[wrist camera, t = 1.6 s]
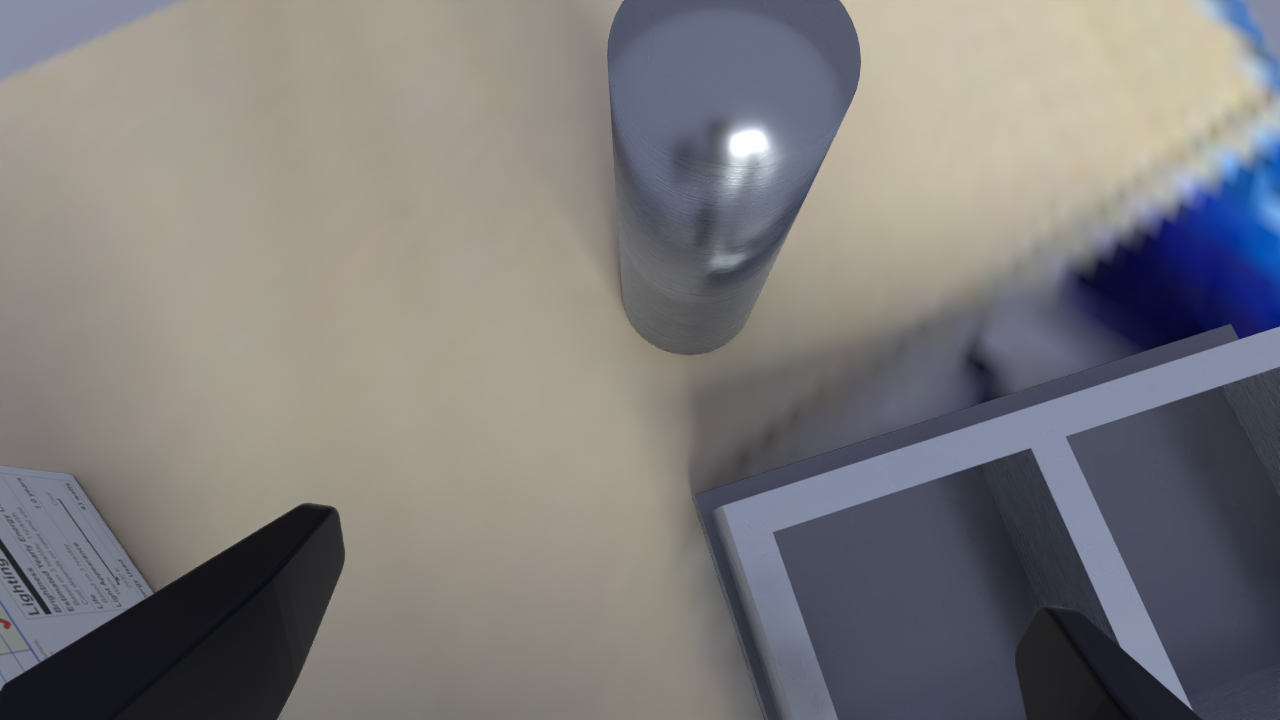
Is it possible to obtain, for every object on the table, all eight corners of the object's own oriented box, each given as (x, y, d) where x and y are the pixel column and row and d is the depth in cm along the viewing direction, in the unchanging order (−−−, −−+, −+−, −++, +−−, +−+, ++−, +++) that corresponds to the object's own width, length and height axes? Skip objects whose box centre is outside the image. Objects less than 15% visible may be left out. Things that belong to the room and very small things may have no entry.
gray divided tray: (818, 885, 20) (863, 967, 16) (691, 496, 22) (704, 486, 18) (1388, 673, 21) (1557, 702, 17) (1206, 332, 24) (1317, 291, 20)
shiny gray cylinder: (644, 371, 23) (651, 196, 12) (605, 251, 24) (577, -18, 13) (771, 332, 24) (900, 125, 12) (727, 216, 25) (807, -77, 13)
